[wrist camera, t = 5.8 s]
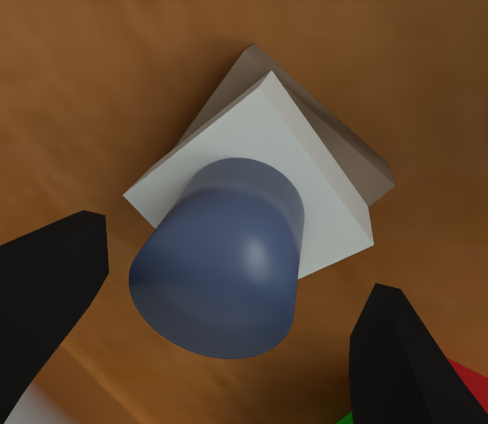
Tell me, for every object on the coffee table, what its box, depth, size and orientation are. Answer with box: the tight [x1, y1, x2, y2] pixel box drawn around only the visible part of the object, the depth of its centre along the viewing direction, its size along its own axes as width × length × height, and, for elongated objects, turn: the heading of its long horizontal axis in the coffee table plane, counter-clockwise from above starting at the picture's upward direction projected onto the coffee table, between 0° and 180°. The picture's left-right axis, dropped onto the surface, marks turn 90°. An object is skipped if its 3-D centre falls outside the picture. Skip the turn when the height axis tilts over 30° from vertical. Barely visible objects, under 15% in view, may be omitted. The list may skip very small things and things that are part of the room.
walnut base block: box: [173, 43, 396, 207], centre depth 15 cm, size 7×7×2 cm
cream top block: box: [123, 70, 374, 279], centre depth 13 cm, size 6×6×2 cm
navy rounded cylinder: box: [129, 158, 305, 359], centre depth 10 cm, size 4×4×4 cm
